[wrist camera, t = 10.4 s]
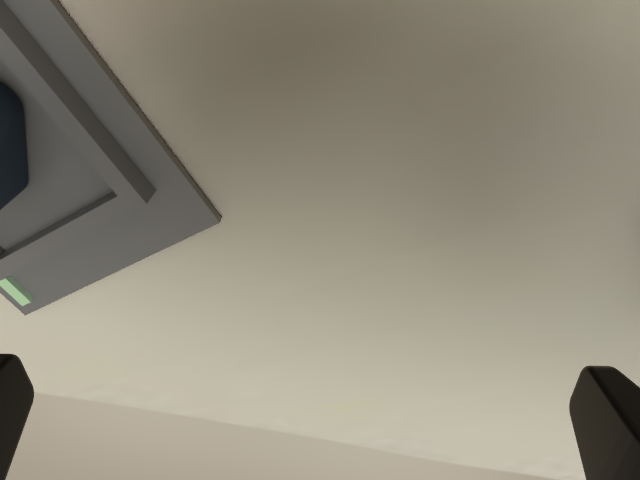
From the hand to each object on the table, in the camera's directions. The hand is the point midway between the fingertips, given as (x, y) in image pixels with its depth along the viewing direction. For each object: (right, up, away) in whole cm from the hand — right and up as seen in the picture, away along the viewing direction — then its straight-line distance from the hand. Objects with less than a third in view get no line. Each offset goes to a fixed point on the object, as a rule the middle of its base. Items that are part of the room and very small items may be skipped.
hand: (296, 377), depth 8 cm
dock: (-12, +6, +13) cm, 19 cm away
